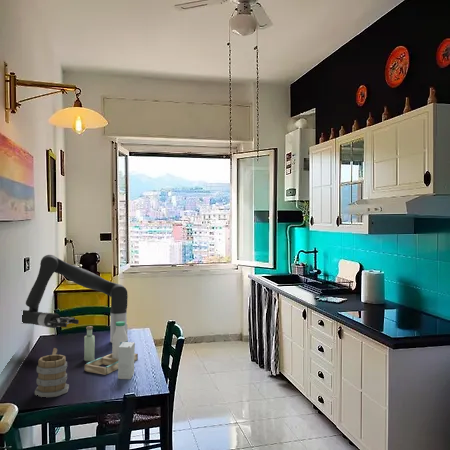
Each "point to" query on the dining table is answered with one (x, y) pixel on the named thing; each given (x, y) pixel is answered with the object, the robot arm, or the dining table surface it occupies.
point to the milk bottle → (118, 338)
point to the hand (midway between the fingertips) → (72, 323)
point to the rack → (106, 360)
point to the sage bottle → (89, 345)
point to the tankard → (52, 375)
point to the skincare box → (126, 360)
